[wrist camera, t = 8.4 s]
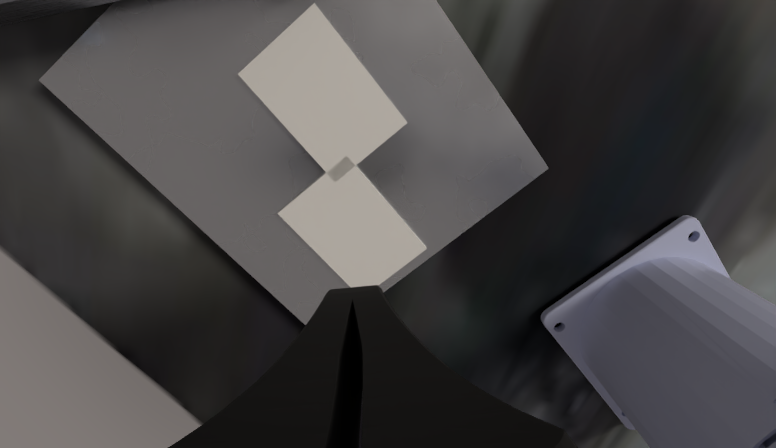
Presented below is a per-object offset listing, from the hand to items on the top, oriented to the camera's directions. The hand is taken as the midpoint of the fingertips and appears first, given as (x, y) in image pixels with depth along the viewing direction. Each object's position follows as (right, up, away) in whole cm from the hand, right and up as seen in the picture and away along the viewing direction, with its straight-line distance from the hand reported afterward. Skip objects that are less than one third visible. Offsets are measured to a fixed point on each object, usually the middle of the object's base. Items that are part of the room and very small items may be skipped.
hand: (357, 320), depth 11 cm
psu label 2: (-1, +2, +6) cm, 7 cm away
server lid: (-2, +6, +5) cm, 9 cm away
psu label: (-1, +7, +4) cm, 8 cm away
